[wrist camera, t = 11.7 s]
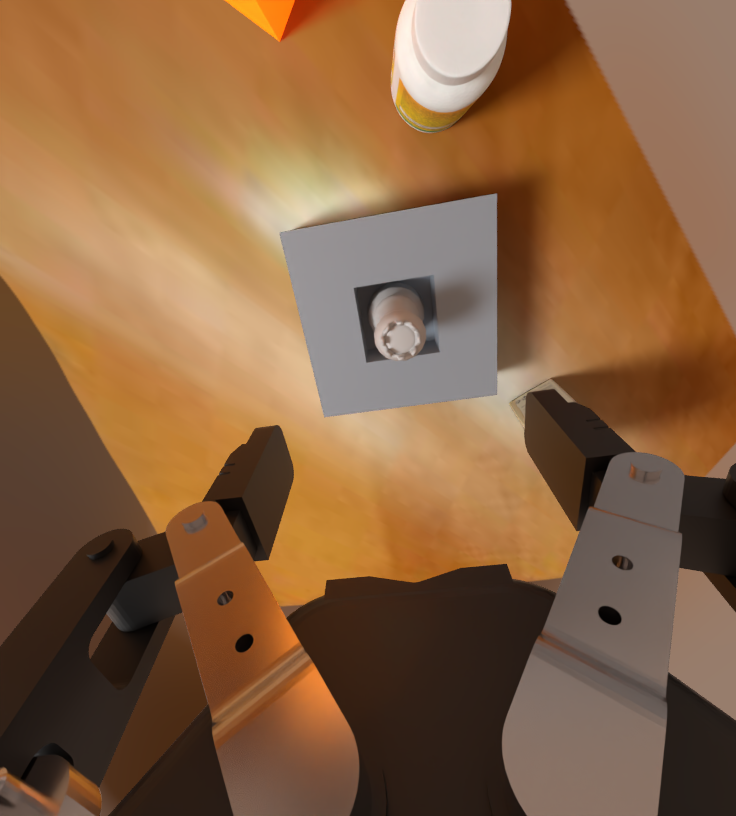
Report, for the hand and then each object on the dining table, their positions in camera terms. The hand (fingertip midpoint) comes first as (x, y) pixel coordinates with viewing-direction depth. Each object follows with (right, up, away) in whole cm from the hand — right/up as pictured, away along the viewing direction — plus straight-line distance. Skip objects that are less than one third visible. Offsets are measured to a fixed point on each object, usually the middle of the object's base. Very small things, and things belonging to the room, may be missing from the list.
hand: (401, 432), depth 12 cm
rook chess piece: (+1, +9, +17) cm, 20 cm away
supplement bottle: (+3, +22, +12) cm, 25 cm away
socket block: (+1, +9, +18) cm, 20 cm away
